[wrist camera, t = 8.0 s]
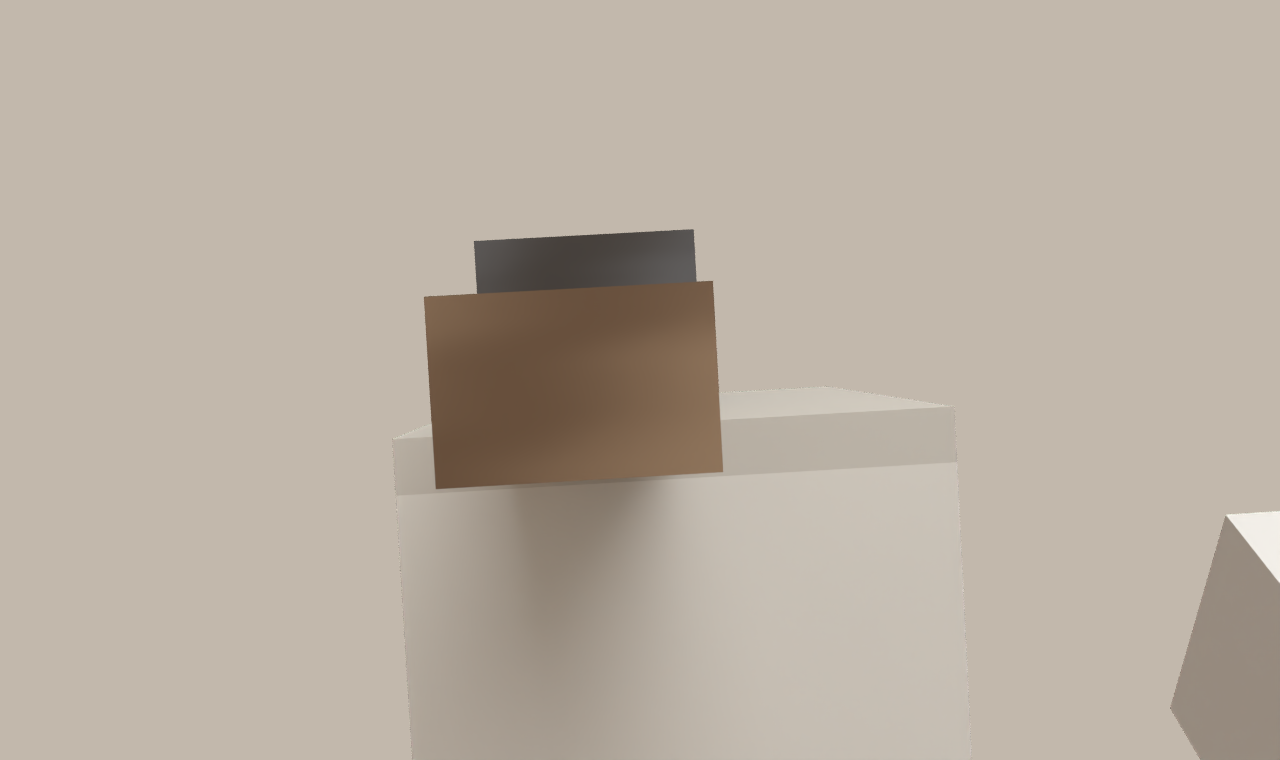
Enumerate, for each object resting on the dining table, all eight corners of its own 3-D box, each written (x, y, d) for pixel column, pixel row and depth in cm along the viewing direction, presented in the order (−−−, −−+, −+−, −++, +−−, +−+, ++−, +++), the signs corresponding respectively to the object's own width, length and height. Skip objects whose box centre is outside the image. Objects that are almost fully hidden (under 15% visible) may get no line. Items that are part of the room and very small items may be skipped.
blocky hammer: (686, 395, 32) (678, 249, 32) (817, 466, 12) (797, 83, 12) (505, 405, 32) (496, 260, 32) (339, 494, 12) (314, 107, 12)
